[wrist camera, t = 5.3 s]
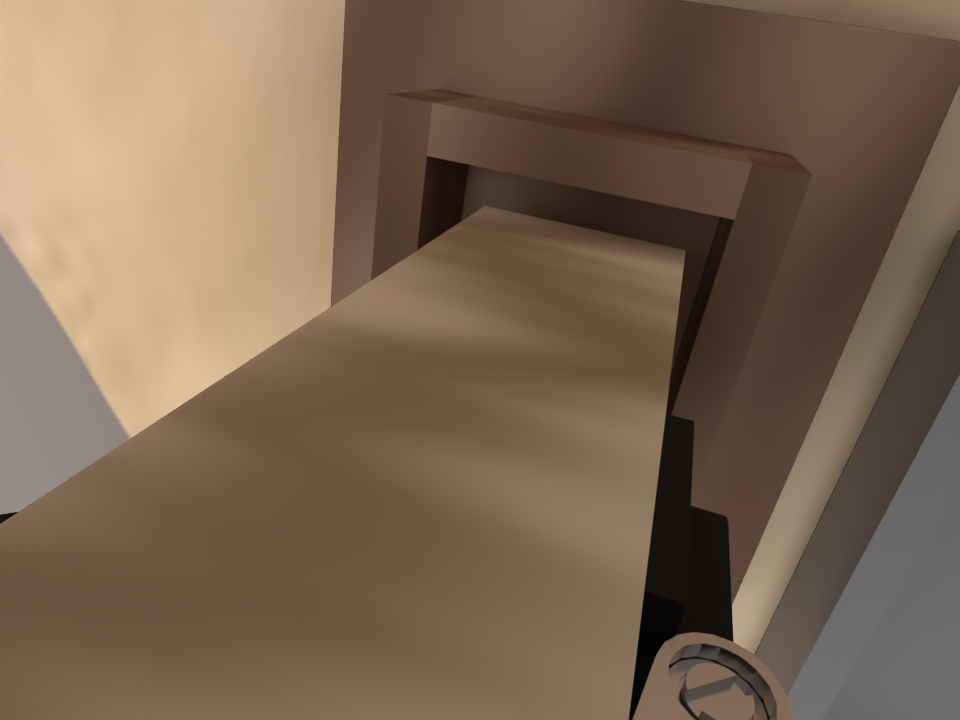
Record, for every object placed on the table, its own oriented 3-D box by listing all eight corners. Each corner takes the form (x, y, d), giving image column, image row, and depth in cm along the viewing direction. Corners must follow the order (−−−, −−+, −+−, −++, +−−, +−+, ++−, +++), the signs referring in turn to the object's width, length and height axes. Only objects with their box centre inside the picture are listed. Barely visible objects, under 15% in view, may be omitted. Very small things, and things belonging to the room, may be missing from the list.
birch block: (685, 250, 12) (564, 1229, 2) (611, 500, 15) (397, 1470, 5) (485, 205, 13) (-324, 738, 3) (449, 449, 16) (-36, 1179, 6)
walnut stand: (959, 45, 13) (1053, 37, 10) (726, 590, 20) (732, 703, 16) (367, -42, 16) (273, -72, 12) (336, 466, 22) (270, 540, 19)
